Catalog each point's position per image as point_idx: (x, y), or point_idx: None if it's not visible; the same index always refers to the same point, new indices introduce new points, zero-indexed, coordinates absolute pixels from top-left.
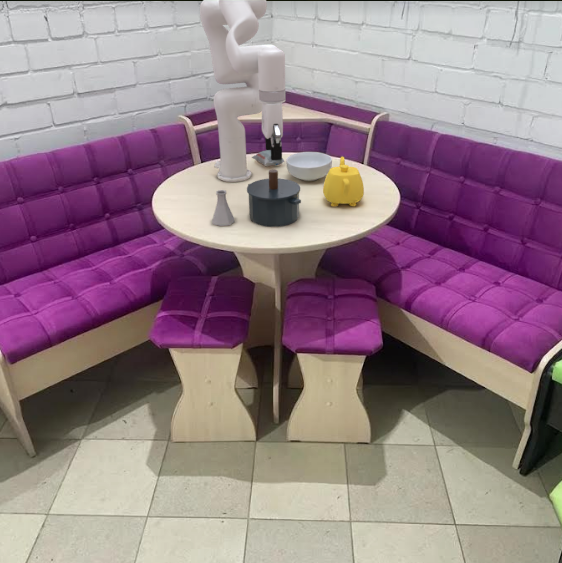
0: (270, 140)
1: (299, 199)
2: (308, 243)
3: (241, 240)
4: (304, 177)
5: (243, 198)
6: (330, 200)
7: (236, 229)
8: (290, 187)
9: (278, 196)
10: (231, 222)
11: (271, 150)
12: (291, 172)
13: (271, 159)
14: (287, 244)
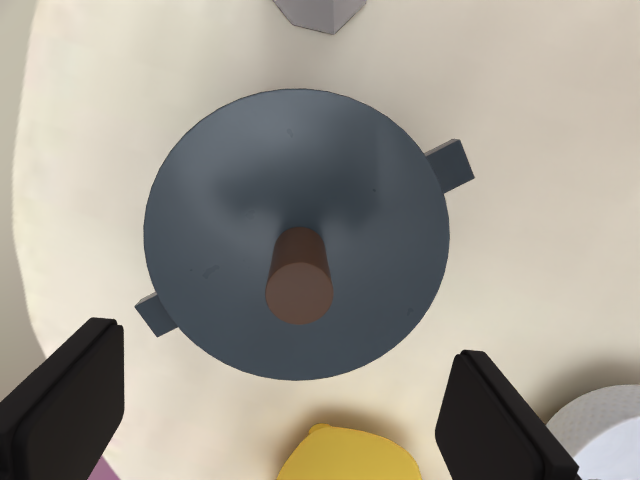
0: (496, 478)
1: (162, 332)
2: (30, 261)
3: (102, 5)
4: (552, 420)
5: (527, 139)
6: (307, 437)
7: (219, 14)
8: (275, 334)
9: (166, 241)
10: (278, 3)
11: (20, 393)
12: (612, 392)
13: (91, 318)
14: (33, 186)
